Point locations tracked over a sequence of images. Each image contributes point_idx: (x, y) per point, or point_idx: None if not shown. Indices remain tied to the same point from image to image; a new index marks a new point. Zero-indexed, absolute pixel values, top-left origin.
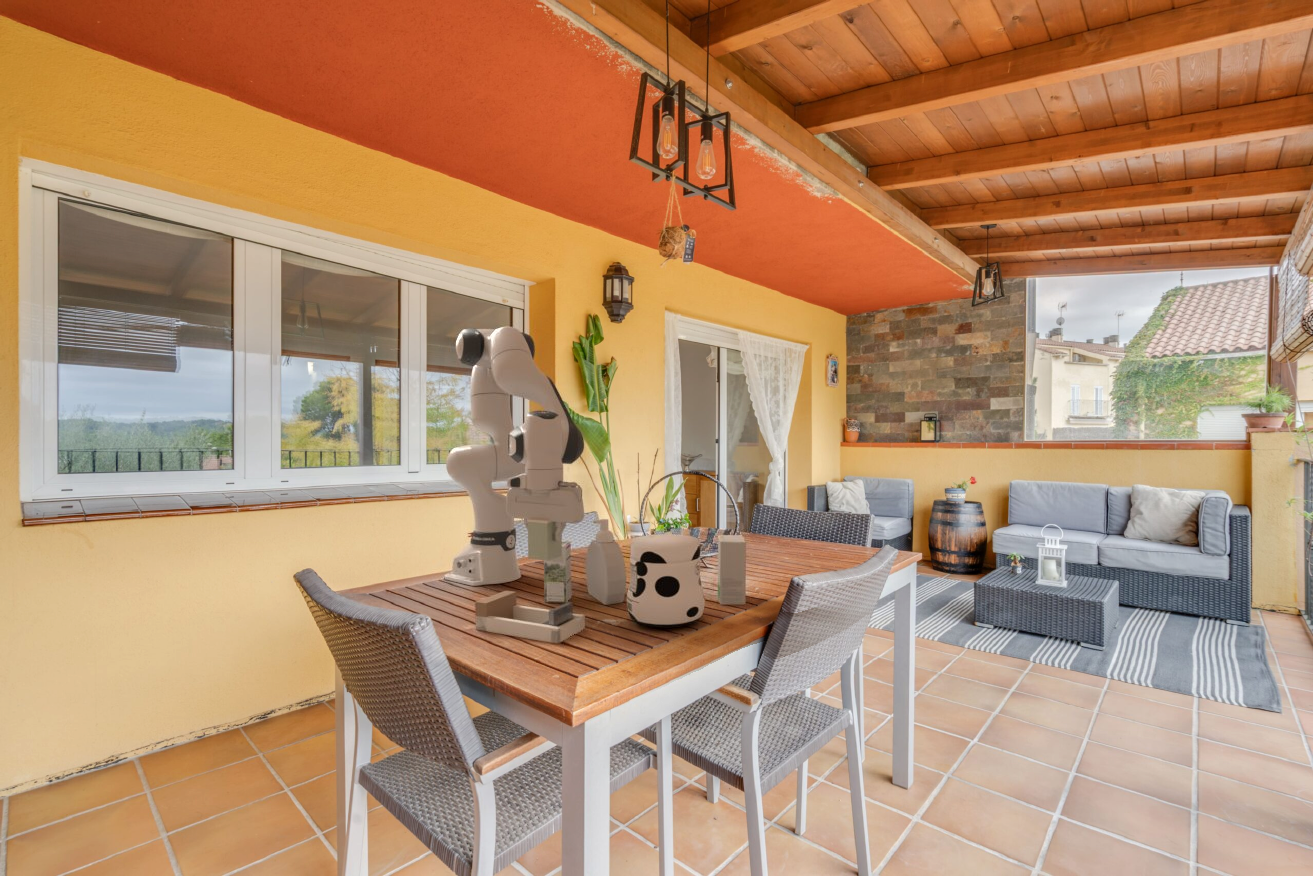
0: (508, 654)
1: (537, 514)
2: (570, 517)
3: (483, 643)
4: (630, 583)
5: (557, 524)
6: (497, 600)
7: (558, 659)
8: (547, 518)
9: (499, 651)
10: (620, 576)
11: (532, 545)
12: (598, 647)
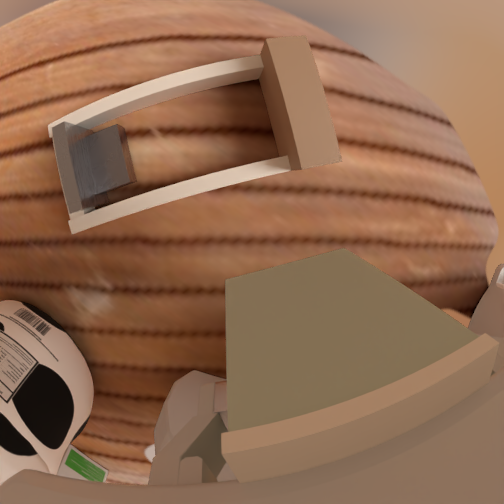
0: (101, 36)
1: (442, 462)
2: (20, 499)
3: (191, 27)
4: (15, 355)
5: (184, 472)
6: (278, 84)
7: (20, 94)
8: (277, 491)
9: (126, 29)
10: (156, 430)
11: (345, 277)
12: (7, 178)
